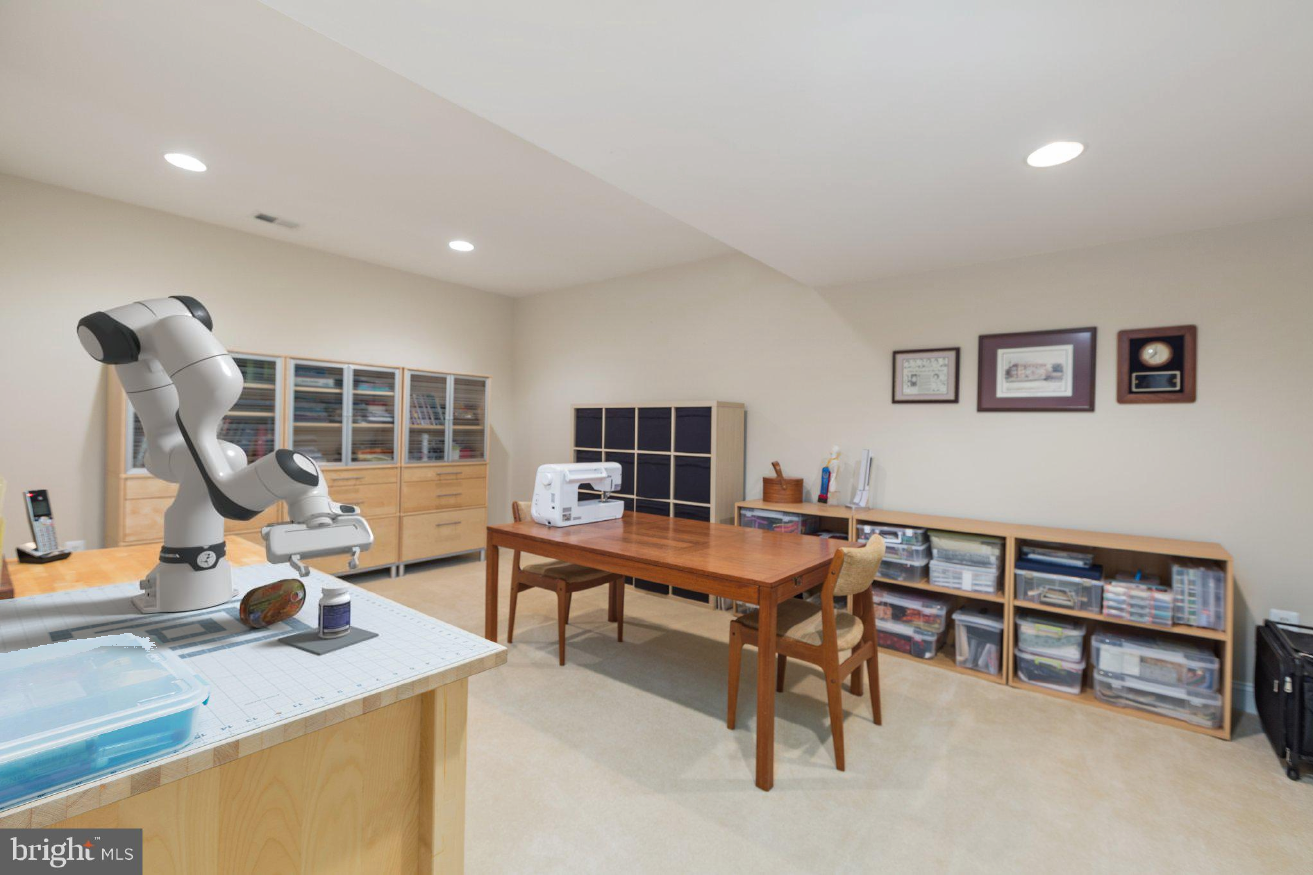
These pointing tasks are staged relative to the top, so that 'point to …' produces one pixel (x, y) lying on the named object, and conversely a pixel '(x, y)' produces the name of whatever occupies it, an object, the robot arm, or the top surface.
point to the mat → (326, 640)
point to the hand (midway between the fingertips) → (330, 571)
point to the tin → (272, 603)
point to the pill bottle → (334, 611)
